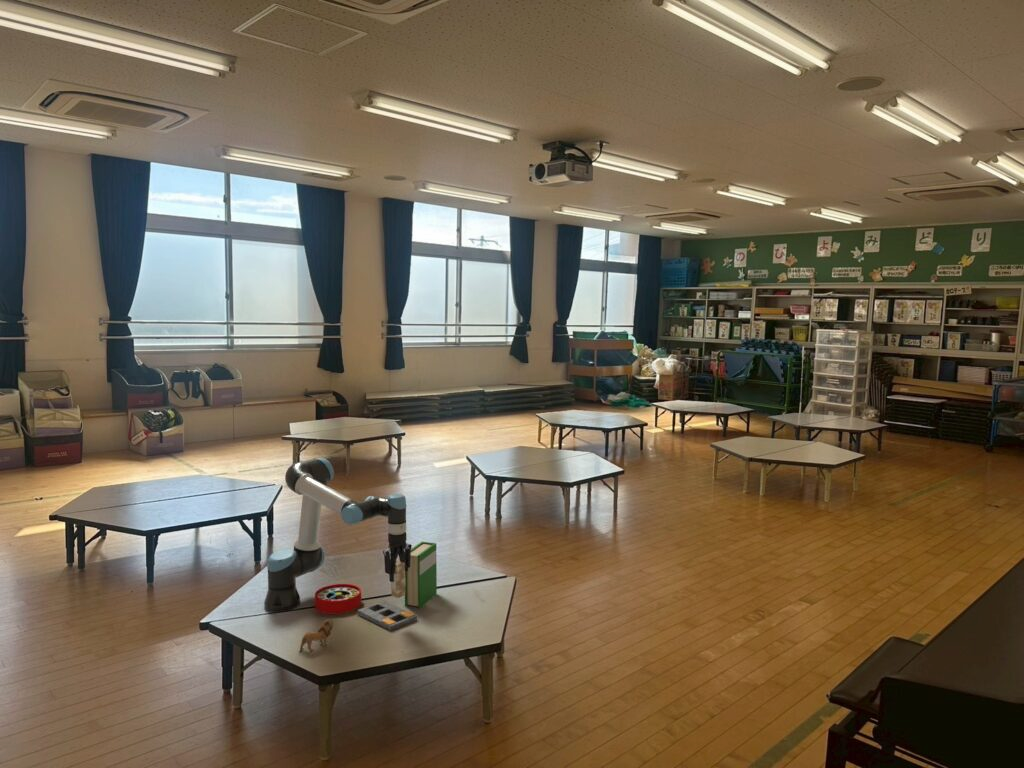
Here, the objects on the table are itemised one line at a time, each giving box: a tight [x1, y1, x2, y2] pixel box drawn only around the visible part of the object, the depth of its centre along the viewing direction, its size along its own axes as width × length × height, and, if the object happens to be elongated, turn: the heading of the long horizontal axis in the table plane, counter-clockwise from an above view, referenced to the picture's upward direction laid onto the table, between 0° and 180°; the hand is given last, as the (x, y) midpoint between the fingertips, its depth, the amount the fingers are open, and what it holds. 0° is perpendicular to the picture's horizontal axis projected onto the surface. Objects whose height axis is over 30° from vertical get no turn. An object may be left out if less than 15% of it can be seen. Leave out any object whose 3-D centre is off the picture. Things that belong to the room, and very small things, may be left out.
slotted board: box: [356, 600, 418, 632], centre depth 293 cm, size 14×23×2 cm, turn 47°
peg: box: [390, 560, 405, 599], centre depth 287 cm, size 4×4×14 cm
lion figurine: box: [298, 619, 334, 653], centre depth 266 cm, size 15×5×9 cm, turn 140°
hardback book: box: [404, 541, 438, 609], centre depth 311 cm, size 18×7×24 cm, turn 162°
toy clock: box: [314, 583, 362, 615], centre depth 307 cm, size 20×6×20 cm
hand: (398, 587), depth 287 cm, fingers closed on peg, 4 cm apart
